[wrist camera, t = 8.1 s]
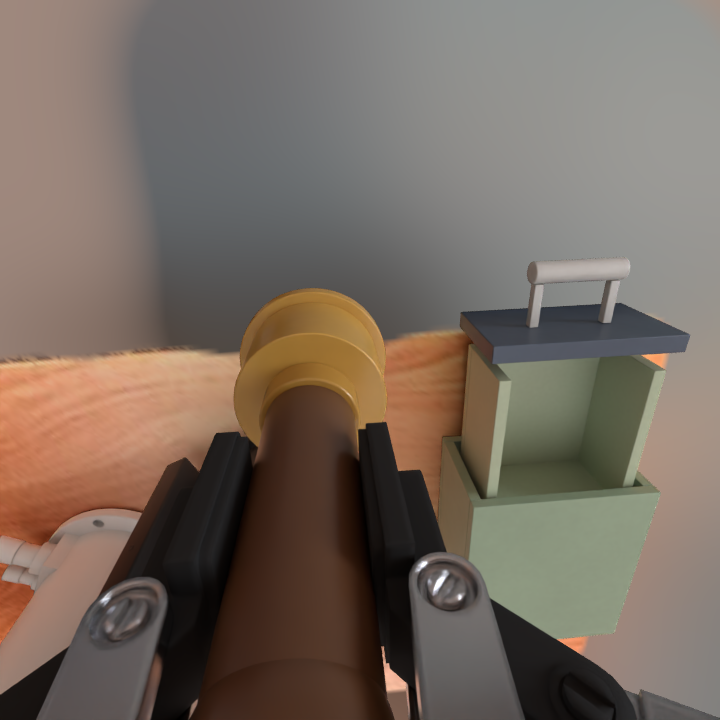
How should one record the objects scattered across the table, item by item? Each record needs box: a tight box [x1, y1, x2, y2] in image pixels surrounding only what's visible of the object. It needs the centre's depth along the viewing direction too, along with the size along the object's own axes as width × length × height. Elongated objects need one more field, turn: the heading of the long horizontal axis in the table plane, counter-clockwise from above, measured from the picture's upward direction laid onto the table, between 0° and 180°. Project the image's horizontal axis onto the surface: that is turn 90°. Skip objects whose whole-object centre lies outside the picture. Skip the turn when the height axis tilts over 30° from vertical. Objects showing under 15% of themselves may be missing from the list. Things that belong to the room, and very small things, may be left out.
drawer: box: [460, 257, 690, 499], centre depth 31 cm, size 19×12×7 cm, turn 2°
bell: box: [189, 288, 394, 720], centre depth 11 cm, size 6×6×15 cm
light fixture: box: [98, 437, 258, 597], centre depth 26 cm, size 12×11×25 cm
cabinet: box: [438, 436, 661, 639], centre depth 37 cm, size 16×14×9 cm
